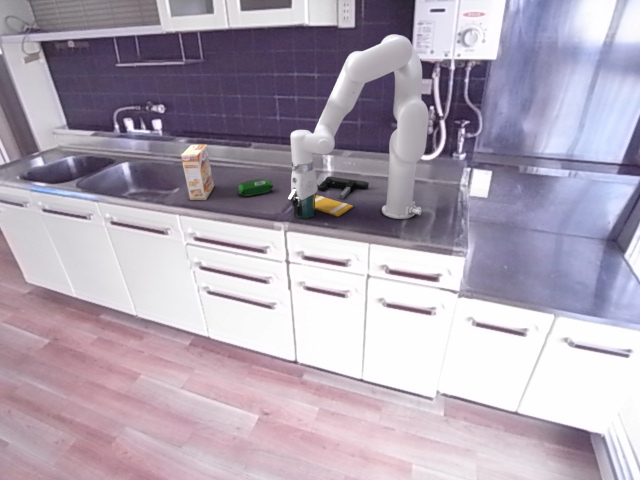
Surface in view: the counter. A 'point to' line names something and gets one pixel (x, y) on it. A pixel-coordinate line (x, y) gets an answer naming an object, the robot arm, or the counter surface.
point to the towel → (331, 206)
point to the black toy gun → (342, 185)
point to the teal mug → (307, 207)
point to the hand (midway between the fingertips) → (304, 210)
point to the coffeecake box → (197, 172)
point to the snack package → (255, 187)
